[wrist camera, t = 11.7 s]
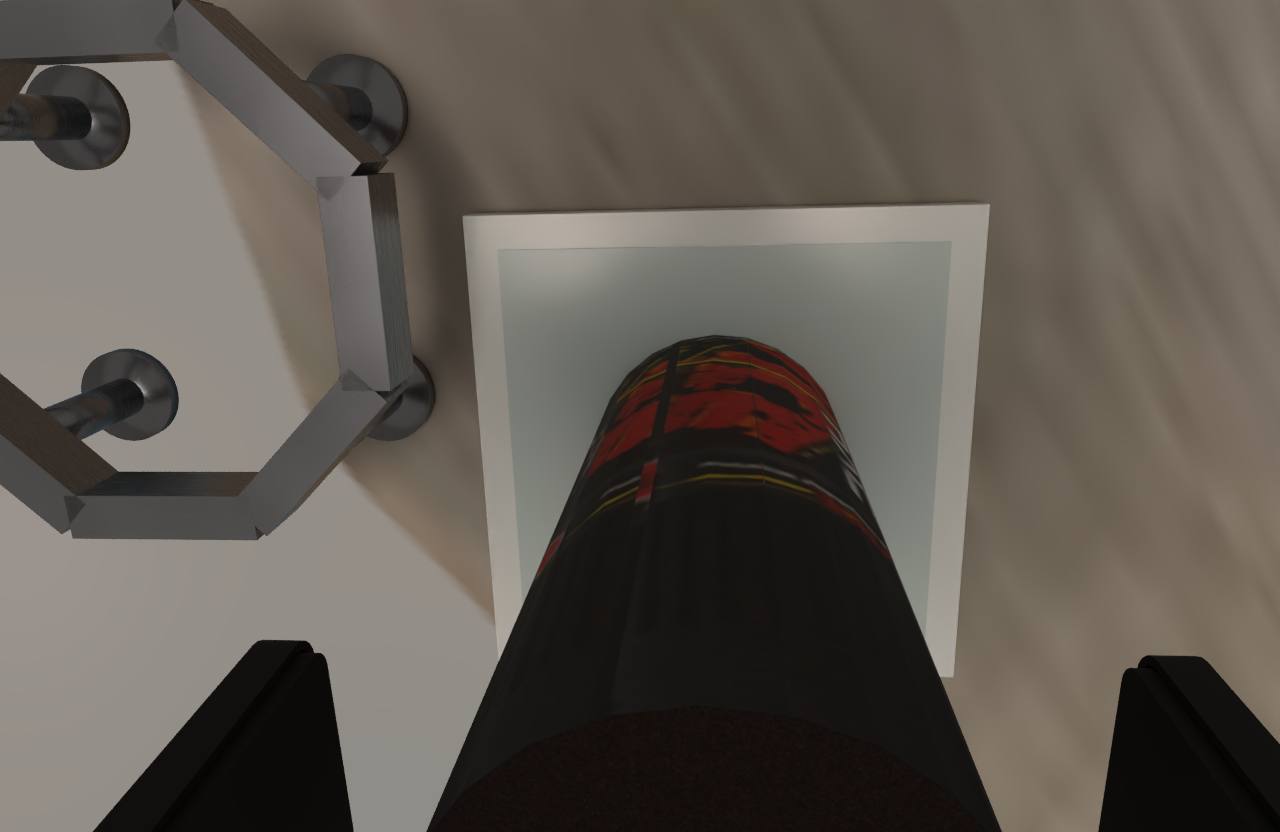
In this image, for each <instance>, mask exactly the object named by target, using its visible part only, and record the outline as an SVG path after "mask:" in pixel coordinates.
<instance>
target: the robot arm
mask: <svg viewBox="0 0 1280 832" xmlns="http://www.w3.org/2000/svg"><path fill="white" fill-rule="evenodd" d="M93 832H353V823H352V818H351V811H350V804H349V798H348V792H347V786H346V779H345V773H344V766H343V760H342V754H341V747H340V742H339V735H338V728H337V722H336V716H335V709H334V703H333V697H332V690H331V684H330V678H329V671H328V665H327V661H326V659H325V657H324V655H323V654H321V653H314V651H313V648H312V647H311V645H310V643H308V642H307V641H293V640H291V641H290V640H261V641H257V642H256V643H255V644H254V645H253V646H252V647H251V648H250V649H249V650H248V652H247V653H246V654H245V655H244V656H243V657H242V659H241V660H240V661H239V662H238V663H237V664H236V666H235V667H234V668H233V669H232V670H231V671H230V673H229V674H228V675H227V676H226V677H225V678H224V679H223V681H222V682H221V683H220V684H219V685H218V686H217V688H216V689H215V690H214V691H213V692H212V694H211V695H210V696H209V697H208V698H207V699H206V700H205V702H204V703H203V704H202V705H201V706H200V708H199V709H198V710H197V711H196V712H195V713H194V714H193V716H192V717H191V718H190V719H189V720H188V721H187V723H186V724H185V725H184V726H183V727H182V728H181V730H180V731H179V732H178V733H177V734H176V735H175V737H174V738H173V739H172V740H171V741H170V742H169V744H168V745H167V746H166V747H165V748H164V749H163V751H162V752H161V753H160V754H159V755H158V756H157V758H156V759H155V760H154V761H153V762H152V763H151V765H150V766H149V767H148V768H147V769H146V770H145V772H144V773H143V774H142V775H141V776H140V777H139V778H138V780H137V781H136V782H135V783H134V784H133V785H132V787H131V788H130V789H129V790H128V791H127V792H126V794H125V795H124V796H123V797H122V798H121V799H120V801H119V802H118V803H117V804H116V805H115V806H114V808H113V809H112V810H111V811H110V812H109V813H108V815H107V816H106V817H105V818H104V819H103V821H102V822H101V823H100V824H99V825H98V826H97V828H96V829H95V830H94V831H93ZM1098 832H1280V744H1279V743H1278V742H1277V741H1276V739H1275V738H1274V737H1273V736H1272V735H1271V734H1270V733H1269V731H1268V730H1267V729H1266V728H1265V727H1264V726H1263V725H1262V723H1261V722H1260V721H1259V720H1258V719H1257V718H1256V717H1255V715H1254V714H1253V713H1252V712H1251V711H1250V710H1249V709H1248V707H1247V706H1246V705H1245V704H1244V703H1243V702H1242V701H1241V699H1240V698H1239V697H1238V696H1237V695H1236V694H1235V693H1234V691H1233V690H1232V689H1231V688H1230V687H1229V686H1228V685H1227V683H1226V682H1225V681H1224V680H1223V679H1222V678H1221V677H1220V675H1219V674H1218V673H1217V672H1216V671H1215V670H1214V669H1213V667H1212V666H1211V665H1210V664H1209V663H1208V662H1207V661H1206V660H1205V659H1203V658H1202V657H1197V656H1155V655H1147V656H1145V657H1143V658H1142V659H1141V661H1140V662H1139V664H1138V668H1129V669H1127V670H1126V671H1125V672H1124V674H1123V677H1122V682H1121V688H1120V695H1119V701H1118V708H1117V714H1116V720H1115V727H1114V733H1113V740H1112V746H1111V753H1110V759H1109V766H1108V772H1107V779H1106V785H1105V792H1104V798H1103V805H1102V811H1101V818H1100V824H1099V831H1098Z"/></svg>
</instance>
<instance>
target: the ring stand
mask: <svg viewBox="0 0 1280 832" xmlns="http://www.w3.org/2000/svg"><path fill="white" fill-rule="evenodd" d="M161 60H174V61H175V62H177V63H178V64H179V65H180V66H181V67H182V68H183V69H184V70H185V71H186V72H187V73H189V74H190V75H191V76H192V77H193V78H194V79H195V80H196V81H197V82H198V83H199V84H201V85H202V86H203V87H204V88H205V89H206V90H207V91H208V92H209V93H210V94H211V95H213V96H214V97H215V98H216V99H217V100H218V101H219V102H220V103H221V104H222V105H223V106H225V107H226V108H227V109H228V110H229V111H230V112H231V113H232V114H233V115H234V116H235V117H237V118H238V119H239V120H240V121H241V122H242V123H243V124H244V125H245V126H246V127H247V128H248V129H250V130H251V131H252V132H253V133H254V134H255V135H256V136H257V137H258V138H259V139H260V140H262V141H263V142H264V143H265V144H266V145H267V146H268V147H269V148H270V149H271V150H272V151H274V152H275V153H276V154H277V155H278V156H279V157H280V158H281V159H282V160H283V161H284V162H286V163H287V164H288V165H289V166H290V167H291V168H292V169H293V170H294V171H295V172H296V173H298V174H299V175H300V176H301V177H302V178H303V179H304V180H305V181H306V182H307V183H308V184H310V185H311V186H312V187H313V188H314V189H315V190H316V191H317V192H318V197H319V205H320V213H321V221H322V230H323V238H324V246H325V254H326V262H327V270H328V278H329V286H330V294H331V302H332V310H333V318H334V327H335V335H336V343H337V351H338V359H339V367H340V378H339V381H338V382H337V383H336V384H335V385H334V386H333V388H332V389H331V390H330V391H329V392H328V393H327V394H326V396H325V397H324V398H323V399H322V400H321V401H320V403H319V404H318V405H317V406H316V407H315V408H314V409H313V411H312V412H311V413H310V414H309V415H308V416H307V417H306V419H305V420H304V421H303V422H302V423H301V425H300V426H299V427H298V428H297V429H296V430H295V431H294V432H293V434H292V435H291V436H290V437H289V438H288V439H287V441H286V442H285V443H284V444H283V445H282V446H281V447H280V449H279V450H278V451H277V452H276V453H275V454H274V456H273V457H272V458H271V459H270V460H269V461H268V462H267V464H266V465H265V466H264V467H263V468H262V469H261V470H260V472H118V471H117V470H116V469H114V468H113V467H112V466H111V465H110V464H109V463H107V462H106V461H105V460H103V458H101V457H100V456H99V455H98V454H97V453H95V452H94V451H93V450H92V449H91V448H89V447H88V446H87V445H86V444H85V443H83V442H82V441H81V440H82V439H84V438H86V437H88V436H90V435H93V434H94V433H97V432H99V431H101V430H105V431H106V432H108V433H109V434H111V435H113V436H115V437H117V438H121V439H124V440H133V441H136V440H143V439H146V438H149V437H151V436H153V435H155V434H157V433H159V432H161V431H163V430H164V429H166V428H167V427H168V426H169V425H170V424H171V422H172V421H173V419H174V418H175V416H176V413H177V410H178V403H179V402H178V401H179V398H178V391H177V387H176V384H175V381H174V379H173V378H172V376H171V374H170V373H169V371H168V370H167V369H166V367H165V366H164V365H163V364H161V362H160V361H158V360H157V359H156V358H154V357H153V356H151V355H149V354H147V353H145V352H142V351H139V350H135V349H119V350H115V351H112V352H109V353H106V354H104V355H101V356H99V357H98V358H96V359H95V360H93V361H92V362H91V363H90V365H89V366H88V367H87V369H86V370H85V373H84V375H83V379H82V385H81V390H82V391H81V392H82V394H79V395H77V396H74V397H72V398H69V399H67V400H64V401H62V402H59V403H57V404H54V405H52V406H49V407H47V408H45V409H42V408H41V407H40V406H39V405H38V404H36V403H35V402H34V401H33V400H32V399H30V398H29V397H28V396H27V395H26V394H24V393H23V392H22V391H21V390H20V389H18V388H17V387H16V386H15V385H14V384H12V383H11V382H10V381H9V380H8V379H6V378H5V377H4V376H3V375H1V374H0V484H1V485H2V486H3V487H5V489H7V490H8V491H9V492H10V493H12V494H13V495H14V496H15V497H17V498H18V499H19V500H20V501H21V502H23V503H24V504H25V505H26V506H28V507H29V508H30V509H31V510H33V511H34V512H35V513H36V514H38V515H39V516H40V517H41V518H42V519H44V520H45V521H46V522H47V523H49V524H50V525H51V526H52V527H54V528H55V529H56V530H57V531H59V532H60V533H61V534H63V533H64V532H66V531H68V530H70V529H71V532H72V537H73V538H85V539H88V538H89V539H186V540H189V539H190V540H191V539H192V540H258V539H259V538H260V537H261V536H262V535H264V534H265V535H266V536H268V535H269V534H270V533H271V532H272V531H273V530H274V529H276V528H277V527H278V526H279V525H280V524H281V523H282V522H284V521H285V520H286V519H287V518H288V517H289V516H290V515H292V513H294V512H295V511H296V510H297V509H298V508H299V507H300V506H301V505H302V504H303V503H304V501H305V500H306V499H307V498H308V497H309V496H310V495H311V494H312V492H313V491H314V490H315V489H316V488H317V487H318V486H319V485H320V484H321V483H322V481H323V480H324V479H325V478H326V477H327V476H328V475H329V474H330V473H331V471H332V470H333V469H334V468H335V467H336V466H337V465H338V464H339V463H340V461H341V460H342V459H343V458H344V457H345V456H346V455H347V454H348V453H349V451H350V450H351V449H352V448H353V447H355V446H356V445H357V444H358V443H359V442H360V441H362V440H363V439H364V438H365V437H366V436H369V437H372V438H375V439H379V440H387V441H390V440H398V439H402V438H405V437H407V436H409V435H411V434H412V433H414V432H415V431H416V430H417V429H418V428H419V427H420V426H421V425H422V424H423V423H424V422H425V421H426V420H427V419H428V417H429V415H430V413H431V411H432V408H433V404H434V386H433V383H432V379H431V377H430V375H429V373H428V371H427V370H426V368H425V367H424V366H423V364H422V363H421V362H420V361H419V360H418V359H417V358H415V357H414V356H413V355H412V347H411V337H410V327H409V317H408V307H407V298H406V288H405V278H404V268H403V258H402V248H401V238H400V228H399V218H398V208H397V198H396V188H395V178H394V173H379V172H380V170H381V169H382V168H383V167H384V165H385V164H386V163H387V162H388V160H387V159H386V158H384V156H386V155H387V154H389V153H390V152H391V151H392V150H393V149H394V148H395V147H396V146H397V145H398V143H399V142H400V140H401V139H402V137H403V135H404V132H405V129H406V125H407V118H408V108H407V102H406V98H405V94H404V92H403V89H402V87H401V85H400V84H399V82H398V80H397V79H396V78H395V76H394V75H393V74H392V73H391V72H390V71H389V70H388V69H387V68H386V67H385V66H383V65H382V64H380V63H379V62H377V61H375V60H373V59H370V58H367V57H363V56H358V55H353V54H343V55H337V56H333V57H331V58H329V59H326V60H325V61H323V62H322V63H320V64H319V65H318V66H317V67H316V68H315V69H314V70H313V71H312V73H311V74H310V76H309V77H308V79H307V81H305V80H301V79H300V78H299V77H298V76H297V75H296V74H295V73H294V72H293V71H292V70H291V69H289V68H288V67H287V66H286V65H285V64H284V63H283V62H282V61H281V60H280V59H279V58H278V57H277V56H276V55H274V54H273V53H272V52H271V51H270V50H269V49H268V48H267V47H266V46H265V45H264V44H263V43H262V42H261V41H260V40H258V39H257V38H256V37H255V36H254V35H253V34H252V33H251V32H250V31H249V30H248V29H247V28H246V27H245V26H244V25H242V24H241V23H240V22H239V21H238V20H237V19H236V18H235V17H234V16H233V15H232V14H231V13H230V12H229V11H228V10H226V9H225V8H221V7H217V6H214V4H212V3H208V2H204V1H200V0H2V1H0V141H27V140H28V141H31V140H32V141H34V143H35V144H36V145H37V147H38V148H39V149H40V151H41V152H42V153H44V154H45V156H47V157H48V158H49V159H50V160H52V161H53V162H55V163H57V164H58V165H61V166H63V167H66V168H69V169H74V170H93V169H100V168H104V167H106V166H109V165H111V164H112V163H114V162H115V161H116V160H117V159H118V158H119V157H120V156H121V155H122V153H123V152H124V150H125V148H126V146H127V144H128V140H129V136H130V118H129V113H128V109H127V107H126V104H125V102H124V100H123V98H122V96H121V95H120V93H119V91H118V90H117V89H116V87H115V86H114V85H113V84H112V83H111V82H110V81H109V80H108V79H106V78H105V77H104V76H102V75H101V74H99V73H98V72H96V71H93V70H91V69H88V68H84V67H79V66H69V65H58V66H54V67H49V68H47V69H45V70H43V71H42V72H40V73H39V74H38V75H37V76H36V77H35V78H34V79H33V80H32V82H31V83H30V85H29V87H28V89H27V92H26V94H19V92H20V91H21V89H22V87H23V86H24V85H25V83H26V82H27V80H28V79H29V77H30V76H31V74H32V73H33V71H34V69H35V68H36V66H37V65H55V64H82V63H108V62H133V61H134V62H135V61H161Z"/></svg>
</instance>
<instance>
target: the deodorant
mask: <svg viewBox="0 0 1280 832" xmlns="http://www.w3.org/2000/svg"><path fill="white" fill-rule="evenodd" d="M427 832H1002V831H1001V829H1000V826H999V824H998V821H997V819H996V816H995V814H994V811H993V809H992V806H991V804H990V801H989V799H988V796H987V794H986V791H985V789H984V786H983V784H982V781H981V779H980V776H979V774H978V771H977V769H976V766H975V764H974V761H973V759H972V756H971V754H970V751H969V749H968V746H967V744H966V741H965V739H964V736H963V734H962V731H961V729H960V726H959V724H958V721H957V719H956V716H955V714H954V711H953V709H952V706H951V704H950V701H949V699H948V696H947V694H946V691H945V689H944V686H943V684H942V681H941V679H940V676H939V674H938V671H937V669H936V666H935V664H934V661H933V659H932V656H931V654H930V651H929V649H928V646H927V644H926V641H925V639H924V636H923V634H922V631H921V629H920V626H919V624H918V621H917V619H916V616H915V614H914V611H913V609H912V606H911V604H910V601H909V599H908V596H907V594H906V591H905V589H904V586H903V584H902V581H901V579H900V576H899V574H898V571H897V569H896V566H895V564H894V561H893V559H892V556H891V554H890V551H889V549H888V546H887V544H886V541H885V539H884V536H883V534H882V531H881V529H880V526H879V524H878V521H877V519H876V516H875V514H874V511H873V509H872V506H871V504H870V501H869V499H868V496H867V494H866V491H865V489H864V486H863V484H862V481H861V479H860V476H859V474H858V471H857V469H856V467H855V464H854V462H853V459H852V457H851V454H850V452H849V449H848V447H847V444H846V442H845V439H844V437H843V434H842V432H841V429H840V427H839V424H838V422H837V419H836V417H835V415H834V412H833V410H832V408H831V405H830V403H829V401H828V399H827V396H826V394H825V392H824V391H823V389H822V388H821V387H820V386H819V385H818V383H817V382H816V381H815V380H814V378H813V377H812V376H811V375H810V374H809V372H808V371H807V370H806V369H805V368H804V367H803V366H802V365H800V364H799V363H797V362H796V361H795V360H793V359H792V358H790V357H789V356H787V355H786V354H785V353H783V352H782V351H780V350H779V349H777V348H774V347H771V346H769V345H766V344H763V343H760V342H758V341H755V340H752V339H749V338H745V337H734V336H722V335H710V336H704V337H698V338H692V339H686V340H681V341H679V342H677V343H674V344H672V345H670V346H668V347H666V348H663V349H661V350H659V351H657V352H655V353H652V354H651V355H650V356H649V357H648V358H646V359H645V360H644V361H643V362H641V363H640V364H639V365H638V366H637V367H635V368H634V369H633V370H632V371H630V372H629V373H628V374H627V376H626V377H625V378H624V380H623V381H622V383H621V384H620V386H619V387H618V388H617V390H616V391H615V393H614V394H613V396H612V397H611V398H610V401H609V403H608V405H607V408H606V410H605V412H604V415H603V417H602V419H601V422H600V424H599V426H598V429H597V431H596V434H595V436H594V438H593V441H592V443H591V445H590V448H589V450H588V452H587V455H586V457H585V459H584V462H583V464H582V466H581V469H580V471H579V474H578V476H577V478H576V481H575V483H574V485H573V488H572V490H571V492H570V495H569V497H568V499H567V502H566V504H565V507H564V509H563V511H562V514H561V516H560V518H559V521H558V523H557V525H556V528H555V530H554V532H553V535H552V537H551V539H550V542H549V544H548V547H547V549H546V551H545V554H544V556H543V558H542V561H541V563H540V565H539V568H538V570H537V572H536V575H535V577H534V580H533V582H532V584H531V587H530V589H529V591H528V594H527V596H526V598H525V601H524V603H523V605H522V608H521V610H520V613H519V615H518V617H517V620H516V622H515V624H514V627H513V629H512V631H511V634H510V636H509V638H508V641H507V643H506V645H505V648H504V650H503V653H502V655H501V657H500V660H499V662H498V664H497V667H496V670H495V672H494V674H493V676H492V678H491V681H490V683H489V686H488V688H487V690H486V693H485V695H484V697H483V700H482V702H481V704H480V707H479V709H478V711H477V714H476V716H475V718H474V721H473V723H472V726H471V728H470V730H469V733H468V735H467V737H466V740H465V742H464V745H463V747H462V749H461V752H460V754H459V756H458V759H457V761H456V764H455V766H454V768H453V770H452V773H451V775H450V777H449V780H448V782H447V785H446V787H445V789H444V792H443V794H442V796H441V799H440V801H439V803H438V806H437V808H436V811H435V813H434V815H433V818H432V820H431V822H430V825H429V827H428V830H427Z"/></svg>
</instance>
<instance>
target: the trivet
mask: <svg viewBox="0 0 1280 832" xmlns="http://www.w3.org/2000/svg"><path fill="white" fill-rule="evenodd" d="M989 210H990V204H987V203H983V202H954V203H909V204H865V205H820V206H775V207H731V208H686V209H641V210H597V211H552V212H507V213H471V214H467V215H464V216H463V229H464V241H465V253H466V266H467V278H468V290H469V303H470V315H471V327H472V340H473V352H474V364H475V377H476V389H477V401H478V414H479V426H480V438H481V451H482V463H483V475H484V488H485V500H486V512H487V525H488V537H489V549H490V562H491V574H492V586H493V599H494V611H495V623H496V636H497V648H498V659H499V660H500V657H501V655H502V653H503V650H504V648H505V645H506V643H507V641H508V638H509V636H510V634H511V631H512V629H513V627H514V624H515V622H516V620H517V617H518V615H519V613H520V610H521V608H522V605H523V603H524V601H525V598H526V596H527V594H528V591H529V589H530V587H531V584H532V582H533V580H534V577H535V575H536V572H537V570H538V568H539V565H540V563H541V561H542V558H543V556H544V554H545V551H546V549H547V547H548V544H549V542H550V539H551V537H552V535H553V532H554V530H555V528H556V525H557V523H558V521H559V518H560V516H561V514H562V511H563V509H564V507H565V504H566V502H567V499H568V497H569V495H570V492H571V490H572V488H573V485H574V483H575V481H576V478H577V476H578V474H579V471H580V469H581V466H582V464H583V462H584V459H585V457H586V455H587V452H588V450H589V448H590V445H591V443H592V441H593V438H594V436H595V434H596V431H597V429H598V426H599V424H600V422H601V419H602V417H603V415H604V412H605V410H606V408H607V405H608V403H609V401H610V398H611V397H612V396H613V394H614V393H615V391H616V390H617V388H618V387H619V386H620V384H621V383H622V381H623V380H624V378H625V377H626V376H627V374H628V373H629V372H630V371H632V370H633V369H634V368H635V367H637V366H638V365H639V364H640V363H641V362H643V361H644V360H645V359H646V358H648V357H649V356H650V355H651V354H652V353H655V352H657V351H659V350H661V349H663V348H666V347H668V346H670V345H672V344H674V343H677V342H679V341H681V340H686V339H692V338H698V337H704V336H710V335H722V336H734V337H745V338H749V339H752V340H755V341H758V342H760V343H763V344H766V345H769V346H771V347H774V348H777V349H779V350H780V351H782V352H783V353H785V354H786V355H787V356H789V357H790V358H792V359H793V360H795V361H796V362H797V363H799V364H800V365H802V366H803V367H804V368H805V369H806V370H807V371H808V372H809V374H810V375H811V376H812V377H813V378H814V380H815V381H816V382H817V383H818V385H819V386H820V387H821V388H822V389H823V391H824V392H825V394H826V396H827V399H828V401H829V403H830V405H831V408H832V410H833V412H834V415H835V417H836V419H837V422H838V424H839V427H840V429H841V432H842V434H843V437H844V439H845V442H846V444H847V447H848V449H849V452H850V454H851V457H852V459H853V462H854V464H855V467H856V469H857V471H858V474H859V476H860V479H861V481H862V484H863V486H864V489H865V491H866V494H867V496H868V499H869V501H870V504H871V506H872V509H873V511H874V514H875V516H876V519H877V521H878V524H879V526H880V529H881V531H882V534H883V536H884V539H885V541H886V544H887V546H888V549H889V551H890V554H891V556H892V559H893V561H894V564H895V566H896V569H897V571H898V574H899V576H900V579H901V581H902V584H903V586H904V589H905V591H906V594H907V596H908V599H909V601H910V604H911V606H912V609H913V611H914V614H915V616H916V619H917V621H918V624H919V626H920V629H921V631H922V634H923V636H924V639H925V641H926V644H927V646H928V649H929V651H930V654H931V656H932V659H933V661H934V664H935V666H936V669H937V671H938V674H939V676H940V677H953V674H954V661H955V648H956V635H957V622H958V609H959V597H960V584H961V571H962V558H963V545H964V532H965V519H966V506H967V493H968V481H969V468H970V455H971V442H972V429H973V416H974V403H975V390H976V377H977V364H978V352H979V339H980V326H981V313H982V300H983V287H984V274H985V261H986V248H987V235H988V223H989ZM499 660H498V661H499Z"/></svg>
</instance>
